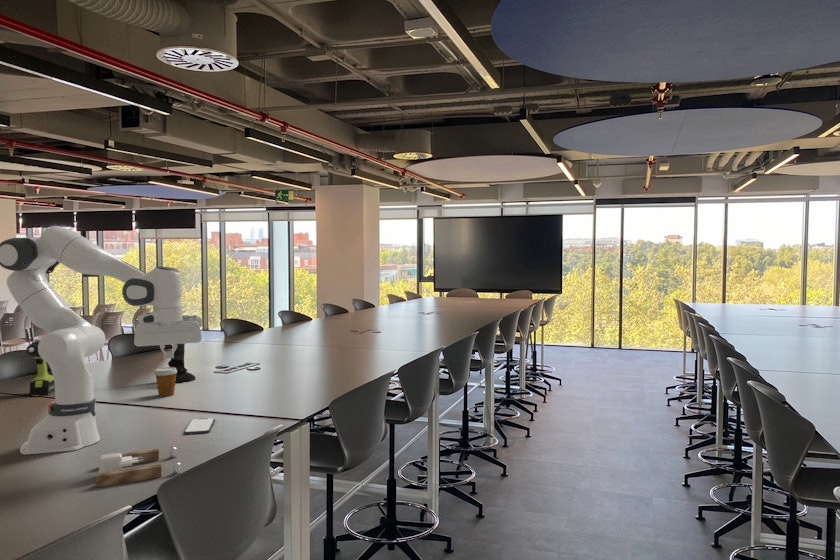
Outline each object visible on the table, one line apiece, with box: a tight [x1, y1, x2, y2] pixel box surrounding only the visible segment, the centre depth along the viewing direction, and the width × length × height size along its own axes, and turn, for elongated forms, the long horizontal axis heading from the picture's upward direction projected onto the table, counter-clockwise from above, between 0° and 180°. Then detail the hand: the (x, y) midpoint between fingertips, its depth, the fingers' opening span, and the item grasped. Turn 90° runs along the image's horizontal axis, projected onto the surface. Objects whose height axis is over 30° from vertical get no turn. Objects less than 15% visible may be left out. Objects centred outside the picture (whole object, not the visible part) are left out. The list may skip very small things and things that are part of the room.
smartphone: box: [183, 417, 216, 436], centre depth 207 cm, size 9×2×16 cm
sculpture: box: [167, 343, 196, 384], centre depth 286 cm, size 15×24×25 cm, turn 16°
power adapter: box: [98, 452, 143, 474], centre depth 163 cm, size 11×5×6 cm, turn 118°
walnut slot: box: [95, 448, 162, 488], centre depth 164 cm, size 16×17×3 cm
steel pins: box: [168, 446, 181, 476], centre depth 169 cm, size 2×17×3 cm, turn 27°
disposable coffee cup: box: [154, 366, 177, 397], centre depth 258 cm, size 10×10×12 cm
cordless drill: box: [25, 340, 55, 396], centre depth 257 cm, size 23×7×25 cm, turn 18°
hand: (168, 358), depth 186 cm, fingers closed
